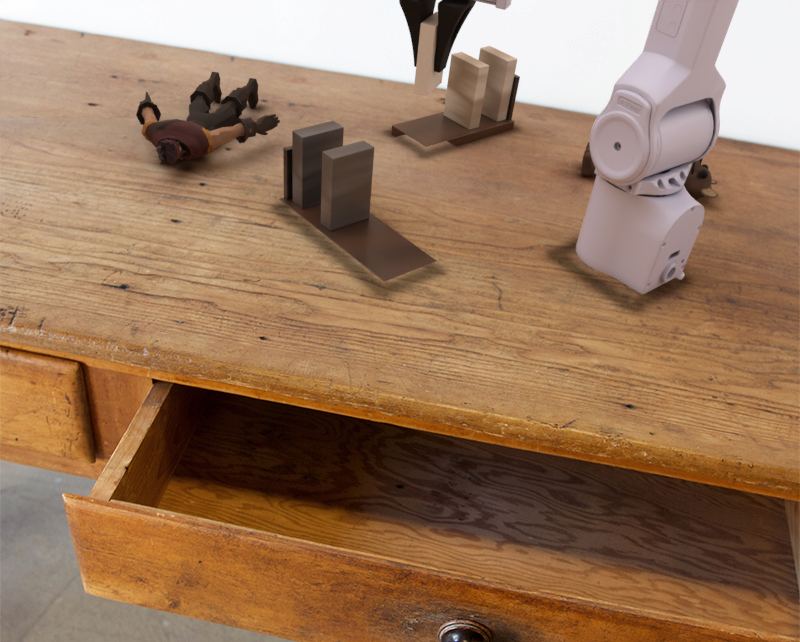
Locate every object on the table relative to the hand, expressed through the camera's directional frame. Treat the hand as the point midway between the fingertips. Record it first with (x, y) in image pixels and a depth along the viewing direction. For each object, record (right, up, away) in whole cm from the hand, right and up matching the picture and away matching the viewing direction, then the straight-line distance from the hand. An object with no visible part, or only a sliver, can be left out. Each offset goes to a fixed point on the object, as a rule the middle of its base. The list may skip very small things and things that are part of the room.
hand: (429, 66), depth 81 cm
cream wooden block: (0, -2, +2) cm, 2 cm away
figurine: (-24, -8, +1) cm, 25 cm away
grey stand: (-7, -20, -11) cm, 24 cm away
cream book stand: (+3, -4, +8) cm, 10 cm away
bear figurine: (+24, -12, +3) cm, 27 cm away
